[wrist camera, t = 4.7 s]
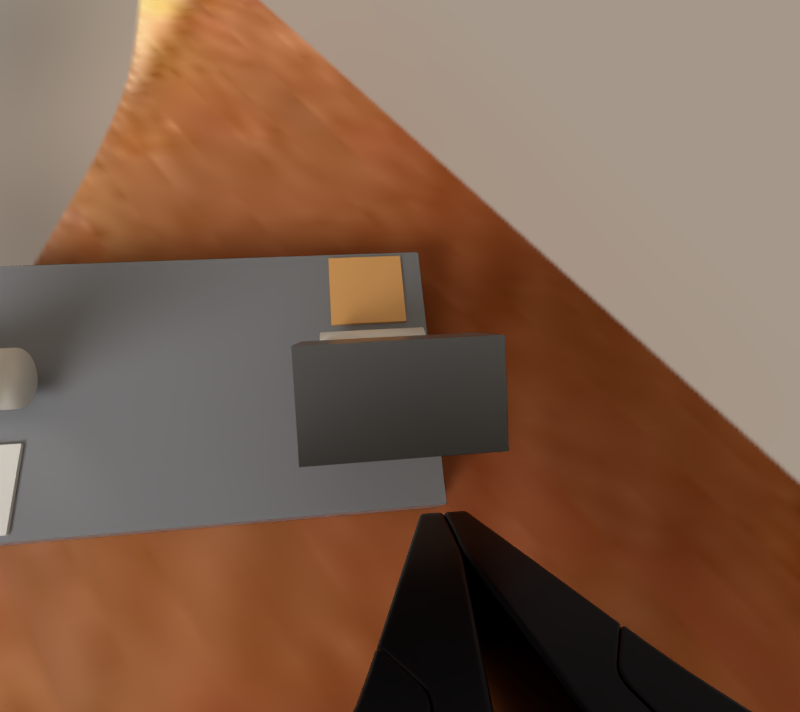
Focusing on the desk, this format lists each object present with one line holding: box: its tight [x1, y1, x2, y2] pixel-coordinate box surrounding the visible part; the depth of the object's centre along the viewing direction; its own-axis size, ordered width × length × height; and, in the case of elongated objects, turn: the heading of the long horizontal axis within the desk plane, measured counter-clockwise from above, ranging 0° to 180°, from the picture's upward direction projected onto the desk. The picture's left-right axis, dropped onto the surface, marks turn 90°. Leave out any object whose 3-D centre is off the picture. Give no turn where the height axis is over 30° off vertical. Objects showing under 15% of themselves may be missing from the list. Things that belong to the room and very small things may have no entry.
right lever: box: [291, 327, 509, 467], centre depth 12 cm, size 2×3×9 cm, turn 95°
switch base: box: [0, 252, 447, 546], centre depth 17 cm, size 9×16×2 cm, turn 94°
